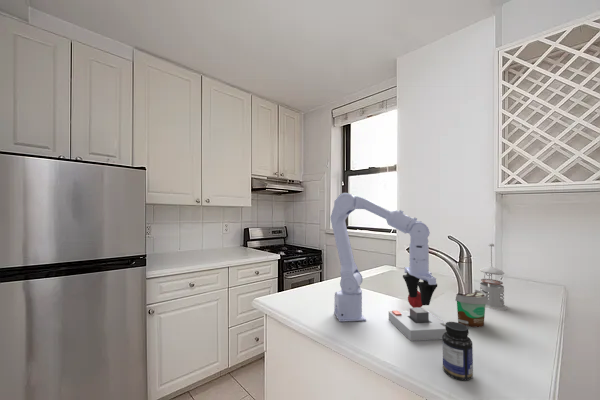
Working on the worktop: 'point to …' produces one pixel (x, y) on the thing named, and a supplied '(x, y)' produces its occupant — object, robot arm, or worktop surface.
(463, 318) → the food container
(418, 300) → the onion
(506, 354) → the worktop surface
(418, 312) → the plug
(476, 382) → the worktop surface
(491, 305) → the french press
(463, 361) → the pill bottle
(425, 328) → the socket plate
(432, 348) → the worktop surface
